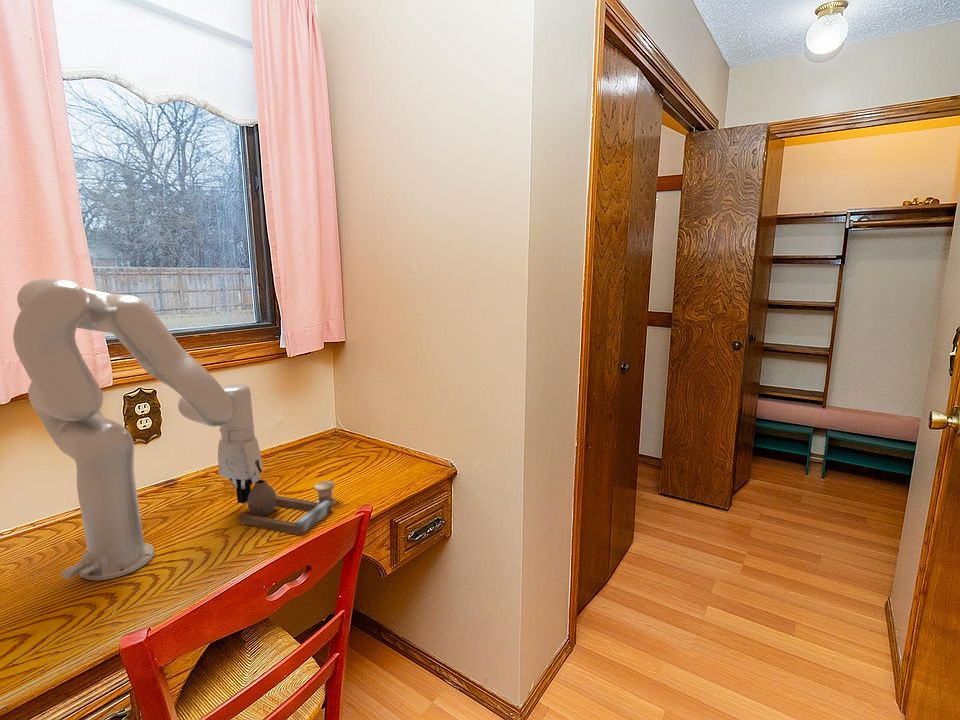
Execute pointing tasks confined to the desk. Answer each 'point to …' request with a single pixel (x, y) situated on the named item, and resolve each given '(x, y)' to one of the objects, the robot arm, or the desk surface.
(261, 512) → the vase
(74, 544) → the desk surface
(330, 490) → the thread spool
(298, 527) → the channel
